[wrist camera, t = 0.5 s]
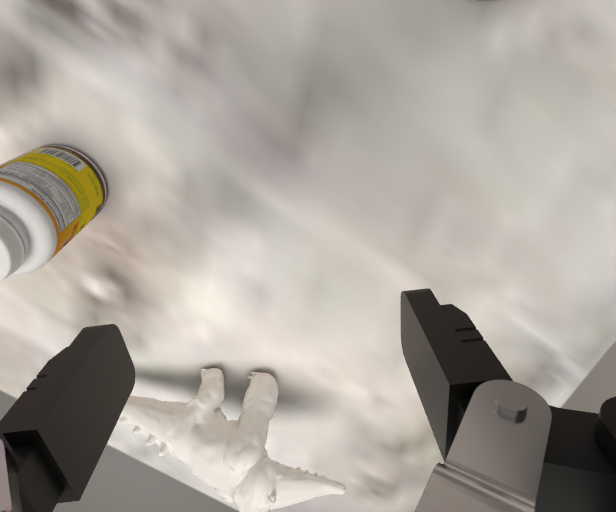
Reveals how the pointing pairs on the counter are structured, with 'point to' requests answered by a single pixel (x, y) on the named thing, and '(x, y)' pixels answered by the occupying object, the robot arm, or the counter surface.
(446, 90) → the counter surface
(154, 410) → the white dinosaur figurine
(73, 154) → the supplement bottle
